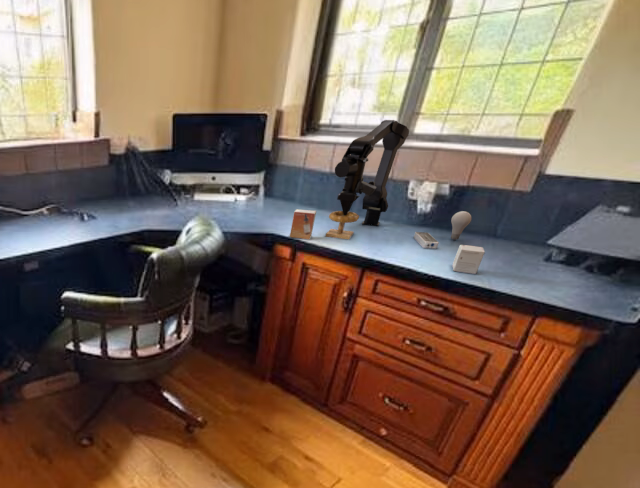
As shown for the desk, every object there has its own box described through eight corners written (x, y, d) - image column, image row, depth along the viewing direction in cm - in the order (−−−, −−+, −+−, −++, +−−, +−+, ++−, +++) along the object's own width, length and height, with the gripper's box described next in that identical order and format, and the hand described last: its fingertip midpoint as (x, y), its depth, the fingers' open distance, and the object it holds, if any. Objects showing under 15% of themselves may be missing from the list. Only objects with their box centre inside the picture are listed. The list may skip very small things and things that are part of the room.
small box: (289, 237, 173) (293, 211, 168) (291, 234, 177) (295, 208, 172) (309, 239, 169) (315, 213, 164) (311, 236, 174) (316, 210, 169)
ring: (332, 215, 177) (333, 209, 176) (360, 217, 172) (361, 212, 170) (325, 221, 170) (327, 215, 169) (355, 224, 164) (356, 218, 163)
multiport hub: (425, 238, 168) (427, 232, 166) (437, 248, 156) (439, 242, 154) (413, 237, 169) (415, 231, 168) (423, 247, 157) (425, 241, 156)
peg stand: (330, 231, 179) (333, 214, 176) (353, 234, 175) (357, 216, 171) (325, 236, 173) (329, 219, 169) (349, 239, 168) (353, 221, 165)
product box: (452, 271, 135) (460, 249, 132) (451, 265, 140) (459, 244, 136) (476, 274, 132) (485, 252, 129) (474, 268, 137) (483, 246, 133)
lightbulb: (457, 243, 161) (468, 214, 156) (441, 239, 166) (451, 211, 161) (466, 240, 164) (477, 212, 158) (450, 237, 168) (460, 209, 163)
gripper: (373, 179, 155) (363, 221, 162) (380, 172, 168) (371, 212, 176) (341, 177, 160) (332, 218, 168) (350, 171, 174) (342, 209, 181)
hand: (345, 214), depth 173 cm, fingers closed on ring, 2 cm apart
